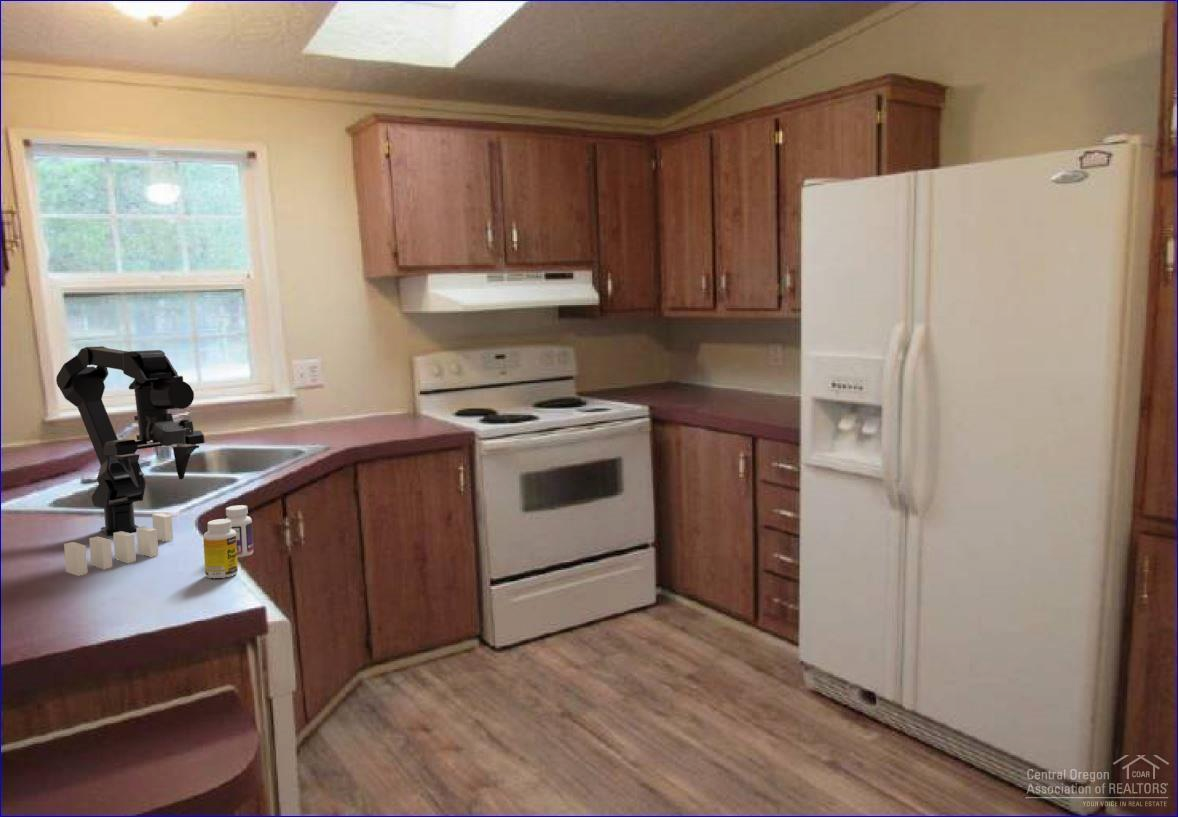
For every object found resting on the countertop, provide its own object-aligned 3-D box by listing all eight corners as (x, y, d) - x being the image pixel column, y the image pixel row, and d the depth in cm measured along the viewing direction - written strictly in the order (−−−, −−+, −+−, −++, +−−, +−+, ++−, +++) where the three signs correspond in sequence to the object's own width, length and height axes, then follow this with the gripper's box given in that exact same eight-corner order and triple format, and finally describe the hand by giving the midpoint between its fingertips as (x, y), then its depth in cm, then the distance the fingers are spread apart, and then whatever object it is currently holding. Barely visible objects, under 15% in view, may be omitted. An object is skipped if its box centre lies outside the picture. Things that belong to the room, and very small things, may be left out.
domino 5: (165, 542, 172) (164, 517, 171) (153, 538, 174) (152, 514, 173) (173, 540, 173) (171, 515, 172) (161, 537, 175) (159, 512, 175)
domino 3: (127, 563, 157) (125, 536, 156) (115, 559, 159) (113, 532, 159) (136, 561, 158) (134, 534, 158) (123, 557, 161) (121, 531, 160)
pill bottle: (245, 549, 167) (242, 502, 165) (258, 554, 163) (256, 506, 162) (219, 555, 162) (216, 507, 161) (232, 560, 159) (230, 512, 158)
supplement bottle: (231, 579, 148) (228, 525, 146) (200, 580, 147) (197, 525, 146) (242, 570, 153) (240, 517, 152) (212, 570, 153) (209, 517, 152)
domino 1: (78, 576, 149) (76, 547, 149) (66, 571, 152) (63, 543, 151) (87, 573, 151) (85, 545, 150) (75, 569, 153) (73, 541, 153)
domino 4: (150, 557, 161) (149, 531, 160) (138, 553, 163) (136, 527, 163) (158, 555, 162) (156, 529, 162) (145, 551, 165) (144, 526, 164)
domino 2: (103, 569, 153) (101, 541, 153) (91, 565, 156) (89, 538, 155) (112, 567, 155) (110, 539, 154) (99, 563, 157) (97, 536, 156)
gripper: (127, 414, 158) (136, 493, 159) (215, 404, 174) (223, 476, 175) (98, 414, 164) (107, 490, 165) (186, 405, 180) (193, 474, 181)
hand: (160, 483), depth 171 cm, fingers open, 9 cm apart
